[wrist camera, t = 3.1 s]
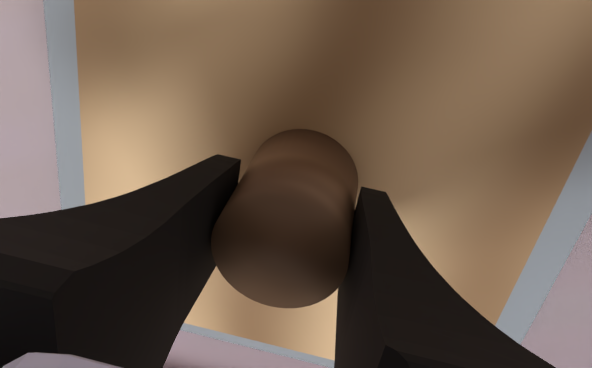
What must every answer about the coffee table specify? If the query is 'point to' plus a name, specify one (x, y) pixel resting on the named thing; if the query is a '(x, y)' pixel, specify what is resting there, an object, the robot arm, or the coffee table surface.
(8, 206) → the coffee table surface
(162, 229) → the robot arm
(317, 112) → the oak lid
